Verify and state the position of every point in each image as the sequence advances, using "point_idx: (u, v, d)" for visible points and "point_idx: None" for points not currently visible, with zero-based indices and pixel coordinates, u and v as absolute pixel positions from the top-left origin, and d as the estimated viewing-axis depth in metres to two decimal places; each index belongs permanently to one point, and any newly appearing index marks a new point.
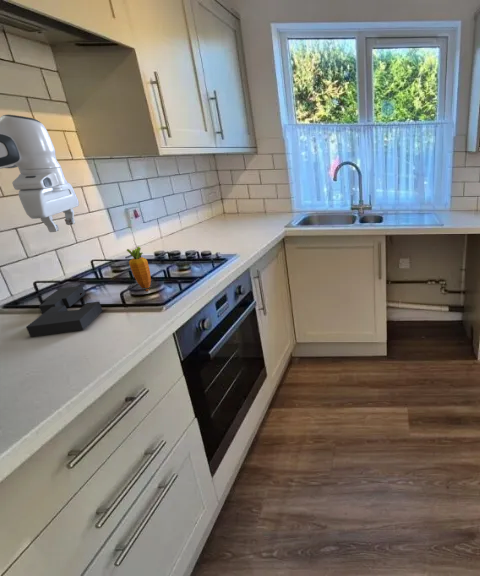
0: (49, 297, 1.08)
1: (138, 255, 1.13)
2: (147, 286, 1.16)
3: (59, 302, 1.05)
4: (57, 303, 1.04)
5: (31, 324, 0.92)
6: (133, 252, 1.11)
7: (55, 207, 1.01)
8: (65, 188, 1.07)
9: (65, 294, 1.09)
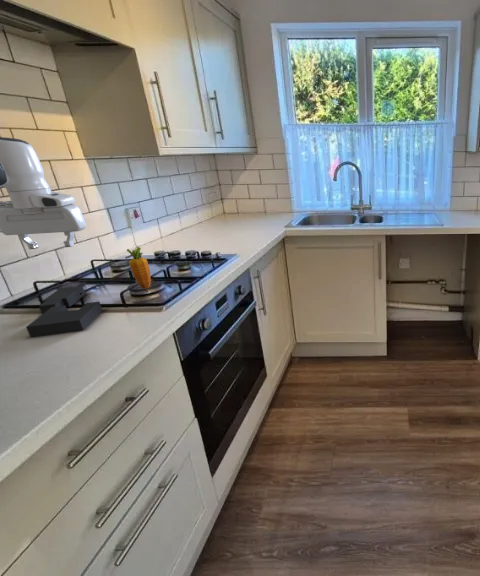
0: (49, 297, 1.08)
1: (138, 255, 1.13)
2: (147, 286, 1.16)
3: (59, 302, 1.05)
4: (57, 303, 1.04)
5: (31, 324, 0.92)
6: (133, 252, 1.11)
7: None
8: None
9: (65, 294, 1.09)
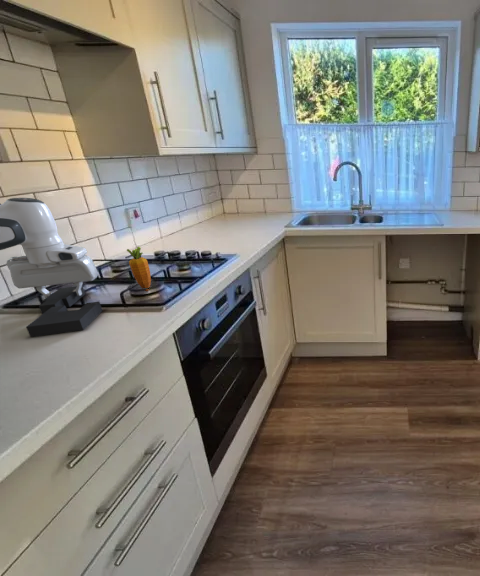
0: (49, 297, 1.08)
1: (138, 255, 1.13)
2: (147, 286, 1.16)
3: (59, 302, 1.05)
4: (57, 303, 1.04)
5: (31, 324, 0.92)
6: (133, 252, 1.11)
7: None
8: None
9: (65, 294, 1.09)
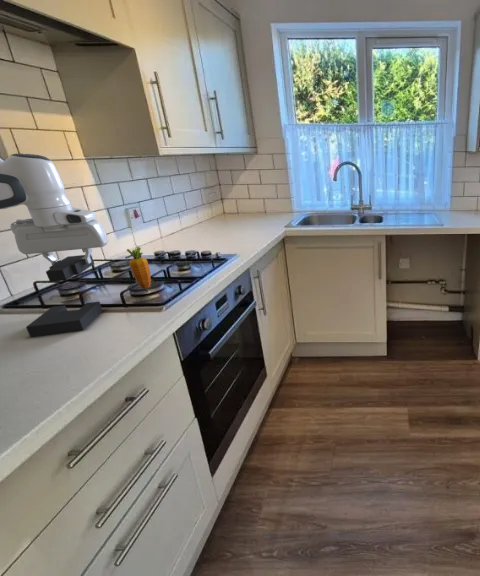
0: (56, 264, 1.00)
1: (138, 255, 1.13)
2: (147, 286, 1.16)
3: (67, 268, 0.98)
4: (65, 270, 0.97)
5: (31, 324, 0.92)
6: (133, 252, 1.11)
7: None
8: None
9: (74, 261, 1.02)
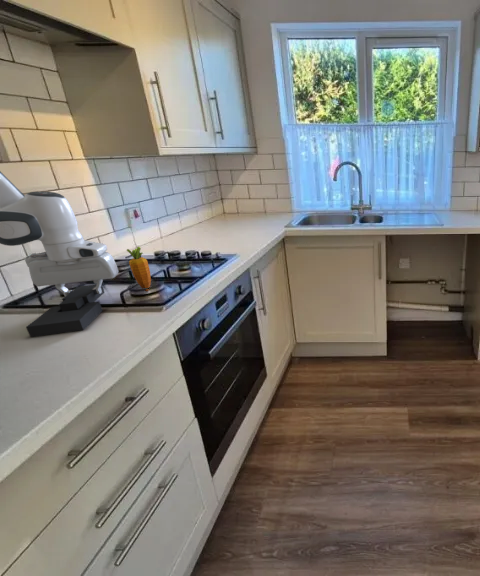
0: (68, 295, 1.04)
1: (138, 255, 1.13)
2: (147, 286, 1.16)
3: (79, 300, 1.01)
4: (78, 302, 1.00)
5: (31, 324, 0.92)
6: (133, 252, 1.11)
7: None
8: None
9: (85, 292, 1.06)
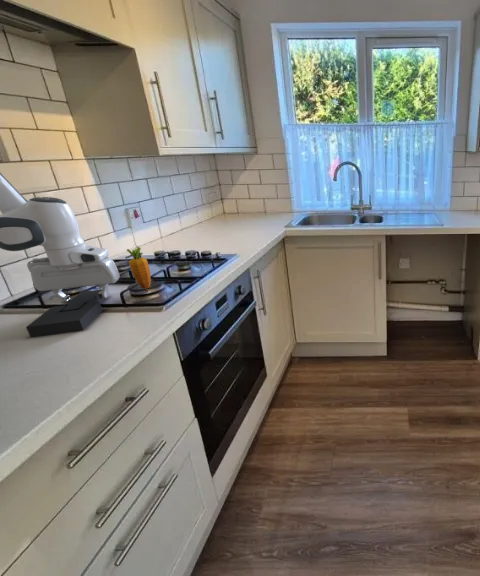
0: (71, 301, 1.04)
1: (138, 255, 1.13)
2: (147, 286, 1.16)
3: (82, 306, 1.02)
4: None
5: (31, 324, 0.92)
6: (133, 252, 1.11)
7: None
8: None
9: (87, 298, 1.06)
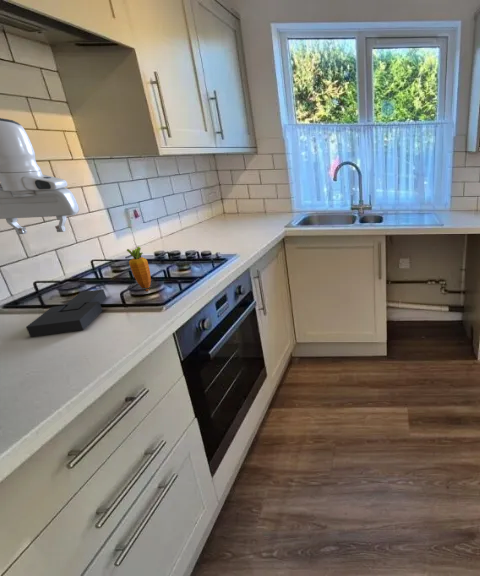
0: (71, 301, 1.04)
1: (138, 255, 1.13)
2: (147, 286, 1.16)
3: (82, 306, 1.02)
4: None
5: (31, 324, 0.92)
6: (133, 252, 1.11)
7: None
8: None
9: (87, 298, 1.06)
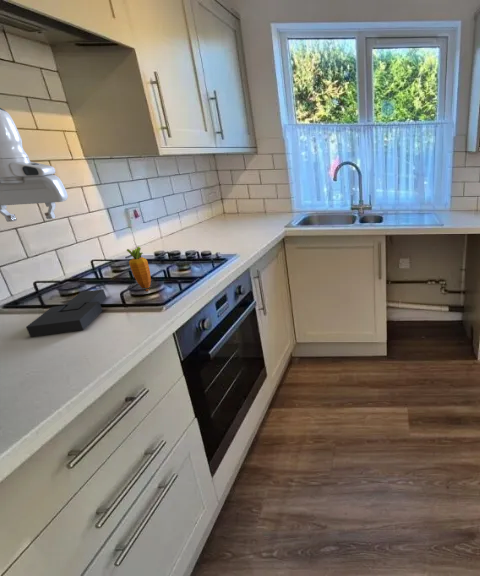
0: (71, 301, 1.04)
1: (138, 255, 1.13)
2: (147, 286, 1.16)
3: (82, 306, 1.02)
4: None
5: (31, 324, 0.92)
6: (133, 252, 1.11)
7: None
8: None
9: (87, 298, 1.06)
